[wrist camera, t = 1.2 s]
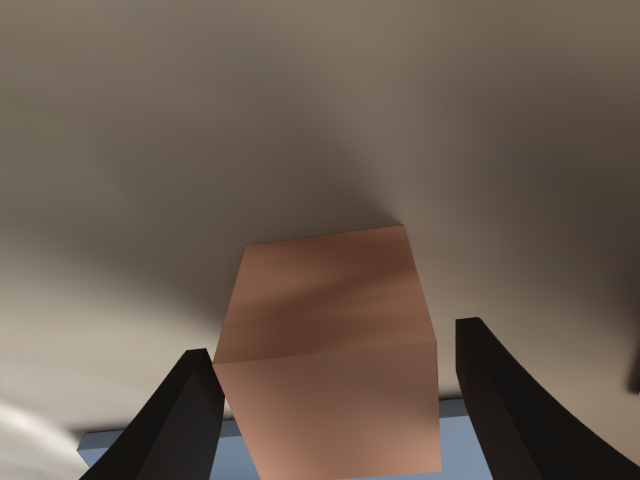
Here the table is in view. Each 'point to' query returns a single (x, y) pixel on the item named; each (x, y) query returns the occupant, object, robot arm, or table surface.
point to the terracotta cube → (332, 358)
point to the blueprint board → (241, 476)
